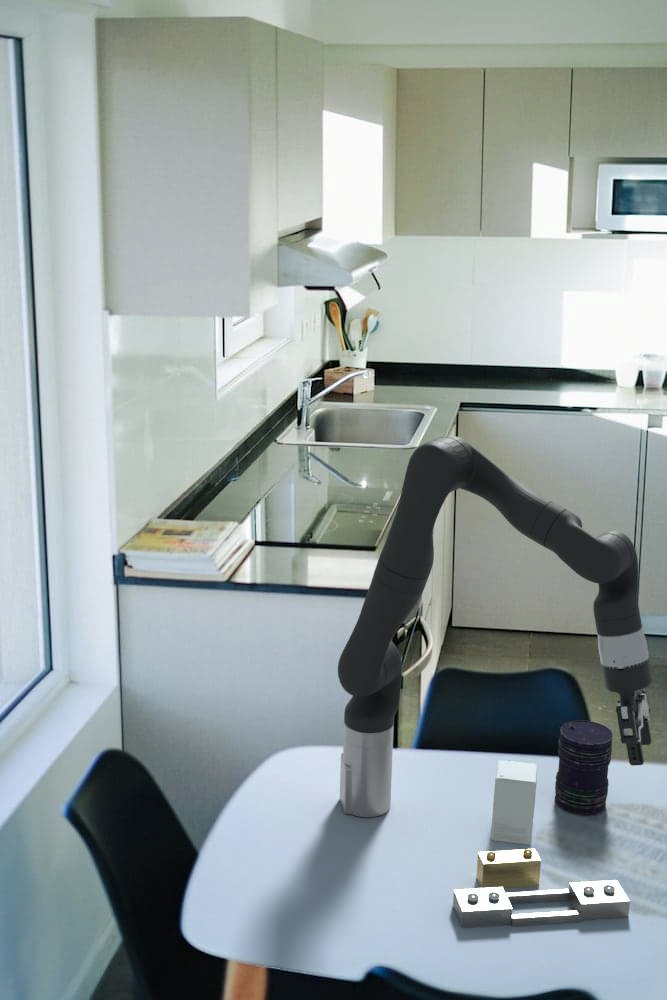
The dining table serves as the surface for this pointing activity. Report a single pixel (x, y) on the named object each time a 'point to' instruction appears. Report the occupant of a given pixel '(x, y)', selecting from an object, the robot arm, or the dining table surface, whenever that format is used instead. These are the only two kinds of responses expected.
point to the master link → (508, 868)
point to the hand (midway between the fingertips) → (641, 754)
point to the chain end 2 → (587, 901)
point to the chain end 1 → (493, 907)
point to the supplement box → (514, 802)
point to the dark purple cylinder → (583, 768)
